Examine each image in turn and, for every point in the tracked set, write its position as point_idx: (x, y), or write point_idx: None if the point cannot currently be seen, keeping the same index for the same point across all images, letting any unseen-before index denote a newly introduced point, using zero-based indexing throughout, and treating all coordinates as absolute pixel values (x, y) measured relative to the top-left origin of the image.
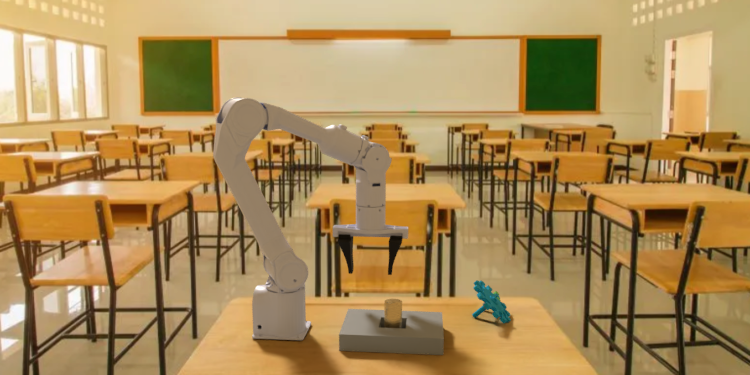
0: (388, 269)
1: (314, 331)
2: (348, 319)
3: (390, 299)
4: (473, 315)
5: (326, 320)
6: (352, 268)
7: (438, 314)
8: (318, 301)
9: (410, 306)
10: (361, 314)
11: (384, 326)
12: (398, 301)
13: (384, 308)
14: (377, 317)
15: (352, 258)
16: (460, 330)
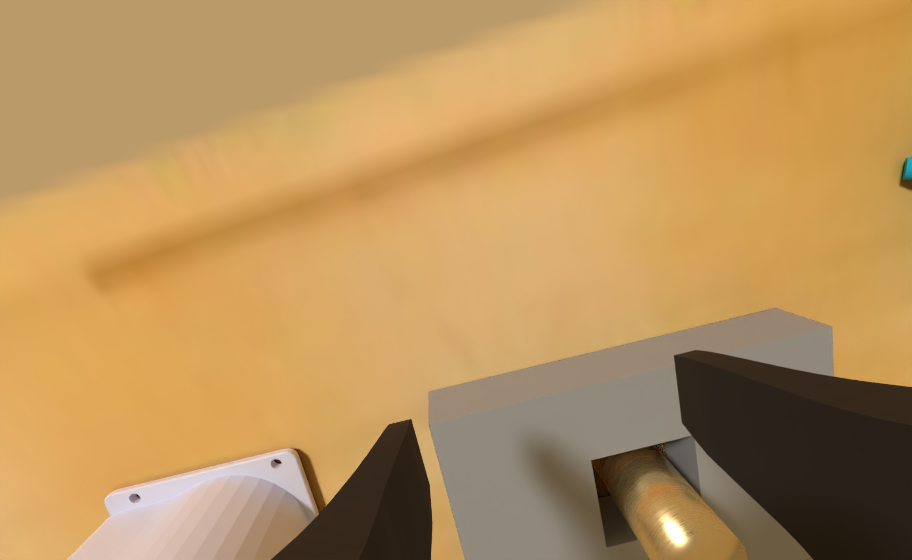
0: (714, 456)
1: (338, 491)
2: (472, 524)
3: (687, 548)
4: (910, 177)
5: (333, 391)
6: (424, 488)
7: (817, 356)
8: (190, 202)
9: (628, 124)
10: (505, 461)
11: (612, 497)
12: (728, 554)
13: (647, 554)
14: (578, 468)
15: (401, 497)
16: (842, 312)
